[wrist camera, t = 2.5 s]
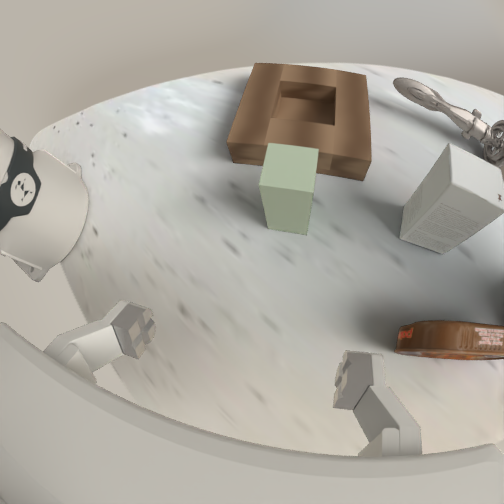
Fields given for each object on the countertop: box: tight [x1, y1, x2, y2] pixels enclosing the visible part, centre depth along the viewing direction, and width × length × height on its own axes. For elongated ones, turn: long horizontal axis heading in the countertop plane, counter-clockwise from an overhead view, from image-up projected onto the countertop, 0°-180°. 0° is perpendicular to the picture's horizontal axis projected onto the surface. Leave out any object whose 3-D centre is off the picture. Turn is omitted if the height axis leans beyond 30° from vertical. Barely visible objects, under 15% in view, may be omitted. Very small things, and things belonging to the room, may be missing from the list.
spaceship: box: [393, 78, 504, 168], centre depth 24 cm, size 8×35×8 cm
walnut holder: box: [227, 63, 371, 181], centre depth 30 cm, size 15×15×4 cm
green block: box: [259, 143, 319, 235], centre depth 24 cm, size 4×4×9 cm
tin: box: [394, 320, 504, 360], centre depth 18 cm, size 15×3×8 cm, turn 77°
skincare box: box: [399, 143, 504, 254], centre depth 20 cm, size 6×4×12 cm
